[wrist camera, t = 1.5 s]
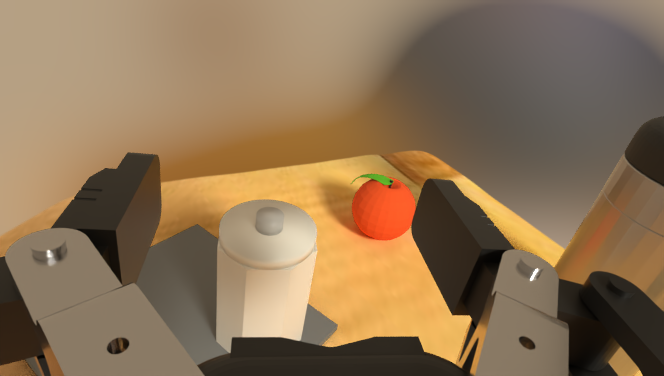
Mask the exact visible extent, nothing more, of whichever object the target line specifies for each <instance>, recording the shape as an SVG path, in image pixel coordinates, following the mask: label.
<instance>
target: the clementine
mask: <svg viewBox="0 0 664 376" xmlns="http://www.w3.org/2000/svg"><path fill="white" fill-rule="evenodd" d="M360 177H368V178H371V180H369V181H367V182H366V183H364V184H363V185H362V186H361V187H360V188H359V190H358V191H357V192H356V194H355V197H354V199H353V203H352V213H353V217H354V221H355V223H356V224H357V226H358V227H359V229H360V230H361V231H362V232H363V233H364V234H366V235H367V236H369V237H372V238H374V239H378V240H391V239H394V238H397V237H399V236H401V235H402V234H404V233H405V232H406V231H407V230H408V229H409V228H410V226H411V224H412V219H413V216H414V213H415V210H416V205H415V199H414V197H413V195H412V193H411V191H410V190H409V188H408V187H407V186H406V185H404V184H403V183H402V182H401V181H399V180H397V179H395V178H391V177H385V176H383V175H378V174H366V175H362V176H360ZM358 178H359V177H358ZM356 179H357V178H356ZM356 179H355V180H356ZM355 180H354V181H355ZM354 181H353V182H354ZM353 182H352V183H353ZM352 183H351V184H352Z"/></svg>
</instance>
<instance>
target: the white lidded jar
mask: <svg viewBox="0 0 664 376" xmlns="http://www.w3.org/2000/svg"><path fill="white" fill-rule="evenodd" d="M316 236H317V228H316V225H315V223H314V221H313V219H312V218H311V217H310V216H309V215H308V214H307V213H306V212H305V211H303V210H302V209H300V208H298V207H296V206H294V205H292V204H289V203H286V202H282V201H276V200H253V201H248V202H244V203H241V204H239V205H236V206H235V207H233V208H231V209H230V210H228V211H227V212H226V213H225V214H224V216H223V217H222V219H221V221H220V224H219V240H218V247H217V316H216V342H217V343H218V344H220V345H221V346H222V347H223V348H224V349H225V350H226V351H227V352H229V353H231V341H232V337H283V338H288V339H292V340H297V341H300V340H301V336H302V331H303V326H304V320H305V315H306V309H307V304H308V298H309V293H310V287H311V282H312V277H313V271H314V266H315V260H316V255H317V246H316Z"/></svg>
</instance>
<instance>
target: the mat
mask: <svg viewBox="0 0 664 376" xmlns="http://www.w3.org/2000/svg"><path fill="white" fill-rule="evenodd" d="M218 240H219V239H217V238H216V237H214V236H213V235H212V234H210V233H209V232H207V231H206V230H205V229H203V228H202V227H201V226H199V225H198V224H197V225H195V226H193V227H190V228H188V229H186V230H184V231H182V232H180V233H178V234H176V235H174V236H172V237H170V238H168V239H166V240H164V241H162V242H160V243H158V244H156V245H154V246H152V247H150V248H149V251H148V253H147V256H146V258H145V261H144V264H143V266H142V269H141V271H140V274H139V277H138V279H137V282H136V285H137V286H138V287H139V289H140V290H141V291H142V293H143V294H144V295H145V297H146V298H147V299H148V301H149V302H150V303H151V305H152V306H153V307H154V309H155V310H156V311H157V313H158V314H159V315H160V317H161V318H162V319H163V321H164V322H165V323H166V325H167V326H168V327H169V329H170V330H171V331H172V333H173V334H174V335H175V337H176V338H177V339H178V341H179V342H180V343H181V345H182V346H183V347H184V349H185V350H186V352H187V353H188V354H189V356H190V357H191V358H192V360H193V361H194V362H195V364H196V365H198V364H201V363H203V362H205V361H207V360H209V359H212V358H215V357H217V356H220V355H224V354H228V353H229V352H227V351H226V350H225V349H224V348H223V347H222V346H221V345H220V344H218V343H217V342H216V316H217V247H218ZM337 326H338V325H337V324H336V323H334V322H333V321H331V320H330V319H329V318H327V317H326V316H324V315H323V314H322V313H320V312H319V311H317V310H316V309H315V308H313V307H312V306H310V305H309V304H307V309H306V315H305V320H304V326H303V331H302V336H301V340H300V341H302V342H306V343H311V344H316V345H320V346H321V345H322V344H323V343H324V342H325V341H326V340H327V339H328V338H329V337H330V336H331V335H332V334H333V333H334V332H335V331H336V330H337ZM25 361H26V362H27V363H28V365H29V366H30V367H31V369H32V370H33V371H34V373H35V374H36V375H37V376H42V374H41V372H40V369H39V367H38V365H37V362H36V360H35V358H34V357H32V358H28V359H25Z"/></svg>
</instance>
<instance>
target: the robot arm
mask: <svg viewBox="0 0 664 376" xmlns="http://www.w3.org/2000/svg"><path fill="white" fill-rule="evenodd" d="M160 216H161V182H160V162H159V157H158V155H153V154H141V153H127V154H126V156H125V157H124V159H123V160H122V162H121V163H120V165H119V166H118V168H117V169H108V168H105V169H104V170H102V171H100V172H98V173H96V174H94V175H93V176H91V177H89V179H88V180H87V181H86V183H85V184H84V185H83V187H82V188H81V190H80V191H79V192H78V193H77V194H76V196H75V197H74V200H72V201H71V202H70V204H69V205H68V206H67V208H66V209H65V210H64V212H63V213H62V214H61V215H60V217H59V218H58V219H57V221H56V222H55V223H54V225H53V226H52V227H51V229H45V230H41V231H37V232H34V233H31V234H29V235H26V236H24V237H22V238H21V239H19V240H18V241H16V242H15V243H14V244H12V245H11V246H10V248H9V249H8V250H7V252H6V255H5V256H4V257H0V365H4V364H8V363H12V362H16V361H20V360H24V359H28V358H32V357H34V358H35V360H36V362H37V365H38V367H39V369H40V372H41V374H42V376H634V375H635V374H636V373H637V372H638V371H639V370H640V371H641V373H642V375H643V376H664V117H658V118H654V119H652V120H649V121H648V122H646V123H644V124H643V125H642V126H641V127H640V128H639V130H638V131H637V133H636V134H635V135H634V138H633V139H632V140H631V142H630V144H629V145H628V147H627V149H626V150H625V153H624V154H623V156H622V157H621V159H620V161H619V162H618V164H617V166H616V167H615V169H614V170H613V172H612V174H611V175H610V177H609V179H608V180H607V182H606V184H605V185H604V187H603V189H602V191H601V192H600V194H599V195H598V197H597V199H596V200H595V202H594V204H593V205H592V207H591V208H590V210H589V212H588V213H587V215H586V217H585V218H584V220H583V222H582V223H581V225H580V226H579V228H578V230H577V231H576V233H575V235H574V236H573V238H572V240H571V241H570V243H569V245H568V246H567V248H566V249H565V251H564V253H563V254H562V256H561V257H560V259H559V261H558V262H557V264H556V266H555V267H554V268H553V267H552V266H551V265H550V264H549V263H548V262H546V261H545V260H543V259H542V258H540V257H538V256H537V255H534V254H532V253H529V252H526V251H523V250H515V249H514V247H513V246H512V245H511V244H510V243H509V241H508V240H507V239H506V238H505V237H504V235H503V234H502V233H501V232H500V231H499V229H498V228H497V227H496V226H494V223H493V222H492V221H491V220H490V218H487V215H486V214H485V212H484V211H483V210H482V209H481V208H480V206H479V205H477V204H476V203H474V202H473V201H472V200H470V199H469V198H467V197H466V196H464V194H463V193H462V192H461V191H460V189H459V188H458V187H457V186H456V184H455V183H454V182H453V181H451V180H441V179H427V180H426V181H425V183H424V185H423V188H422V191H421V194H420V197H419V201H418V204H417V207H416V210H415V213H414V216H413V219H412V227H411V228H412V236H413V239H414V241H415V243H416V245H417V247H418V248H419V250H420V252H421V254H422V256H423V258H424V260H425V262H426V264H427V266H428V268H429V270H430V272H431V274H432V276H433V278H434V280H435V282H436V284H437V286H438V288H439V290H440V292H441V294H442V296H443V298H444V300H445V302H446V304H447V306H448V307H449V309H450V311H451V313H452V315H470V316H471V318H472V320H471V322H470V324H469V326H468V328H467V331H466V334H465V337H464V340H463V343H462V346H461V349H460V352H459V355H458V358H457V361H456V364H454V363H452V362H450V361H448V360H446V359H444V358H441V357H439V356H436V355H433V354H430V353H427V352H424V350H423V348H422V345H421V343H420V340H419V338H418V337H373V338H369V339H365V340H361V341H357V342H353V343H349V344H345V345H341V346H337V347H325V346H320V345H316V344H311V343H306V342H302V341H297V340H292V339H288V338H283V337H232V341H231V353H228V354H224V355H220V356H217V357H215V358H212V359H209V360H207V361H205V362H203V363H201V364H198V365H196V364H195V362H194V361H193V360H192V358H191V357H190V356H189V354H188V353H187V352H186V350H185V349H184V347H183V346H182V345H181V343H180V342H179V341H178V339H177V338H176V337H175V335H174V334H173V333H172V331H171V330H170V329H169V327H168V326H167V325H166V323H165V322H164V321H163V319H162V318H161V317H160V315H159V314H158V313H157V311H156V310H155V309H154V307H153V306H152V305H151V303H150V302H149V301H148V299H147V298H146V297H145V295H144V294H143V293H142V291H141V290H140V289H139V287H138V286H137V285H136V282H137V279H138V277H139V274H140V271H141V269H142V266H143V264H144V261H145V258H146V256H147V253H148V251H149V248H150V245H151V243H152V240H153V238H154V235H155V232H156V230H157V227H158V225H159V221H160Z"/></svg>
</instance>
